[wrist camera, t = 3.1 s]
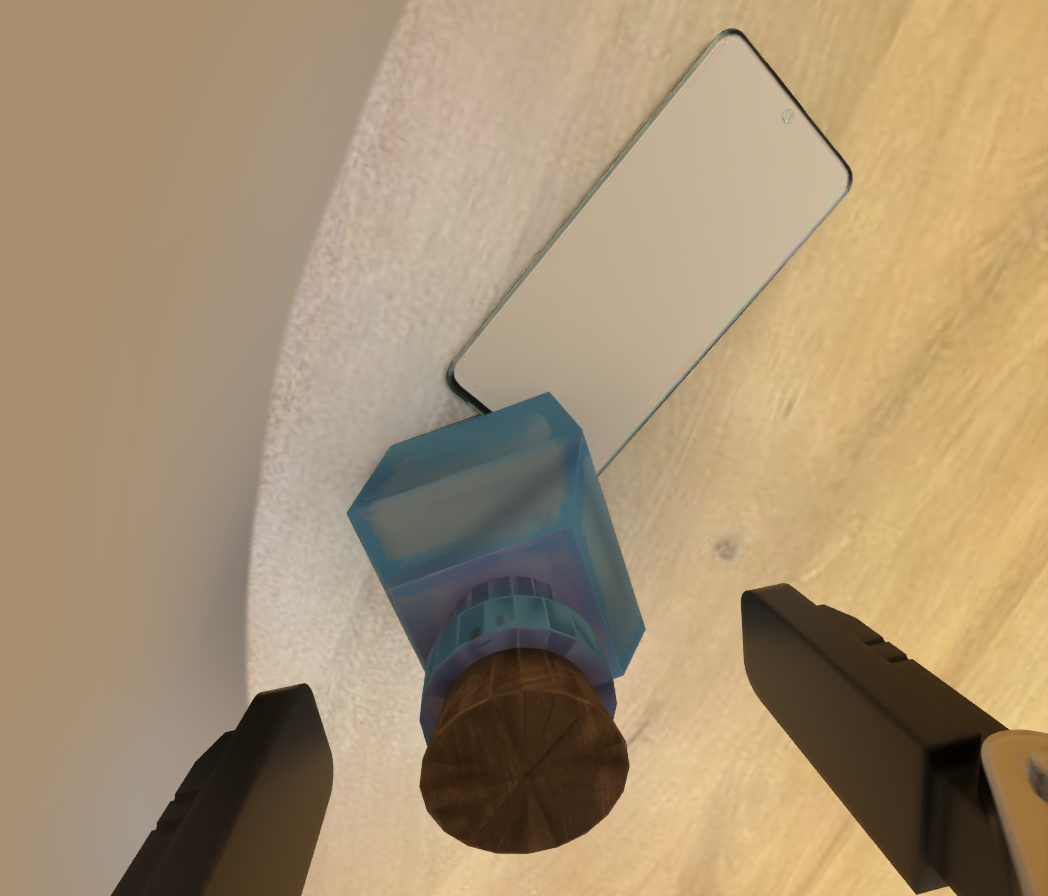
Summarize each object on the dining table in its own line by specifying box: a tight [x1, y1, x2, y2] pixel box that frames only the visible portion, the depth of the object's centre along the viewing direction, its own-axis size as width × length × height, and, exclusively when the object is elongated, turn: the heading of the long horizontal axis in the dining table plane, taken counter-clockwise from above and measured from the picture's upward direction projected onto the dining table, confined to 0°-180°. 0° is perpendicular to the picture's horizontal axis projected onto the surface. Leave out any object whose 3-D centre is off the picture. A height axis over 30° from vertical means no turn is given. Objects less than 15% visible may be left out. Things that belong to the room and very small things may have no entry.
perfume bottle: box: [347, 392, 645, 854], centre depth 13 cm, size 6×6×12 cm
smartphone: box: [446, 29, 853, 477], centre depth 17 cm, size 7×1×15 cm
